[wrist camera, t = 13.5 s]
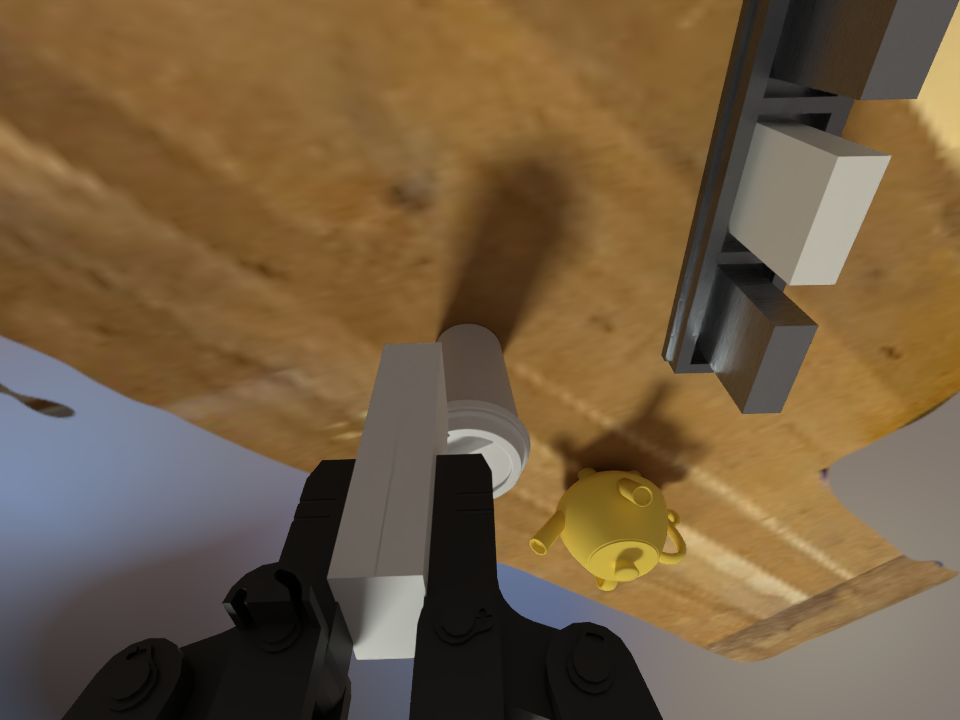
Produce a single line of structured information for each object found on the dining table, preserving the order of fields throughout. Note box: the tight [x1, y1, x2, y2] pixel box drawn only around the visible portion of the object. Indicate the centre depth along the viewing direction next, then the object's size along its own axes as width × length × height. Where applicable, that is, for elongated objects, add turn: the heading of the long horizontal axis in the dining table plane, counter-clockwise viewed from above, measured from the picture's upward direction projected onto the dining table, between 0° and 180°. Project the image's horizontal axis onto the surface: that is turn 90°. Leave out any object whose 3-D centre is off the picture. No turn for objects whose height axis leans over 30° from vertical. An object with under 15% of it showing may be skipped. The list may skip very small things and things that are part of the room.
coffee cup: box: [437, 324, 530, 499], centre depth 43 cm, size 10×10×15 cm
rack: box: [662, 0, 959, 414], centre depth 35 cm, size 34×10×11 cm, turn 1°
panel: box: [727, 122, 891, 285], centre depth 35 cm, size 8×3×10 cm, turn 1°
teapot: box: [530, 468, 686, 591], centre depth 56 cm, size 14×14×11 cm
